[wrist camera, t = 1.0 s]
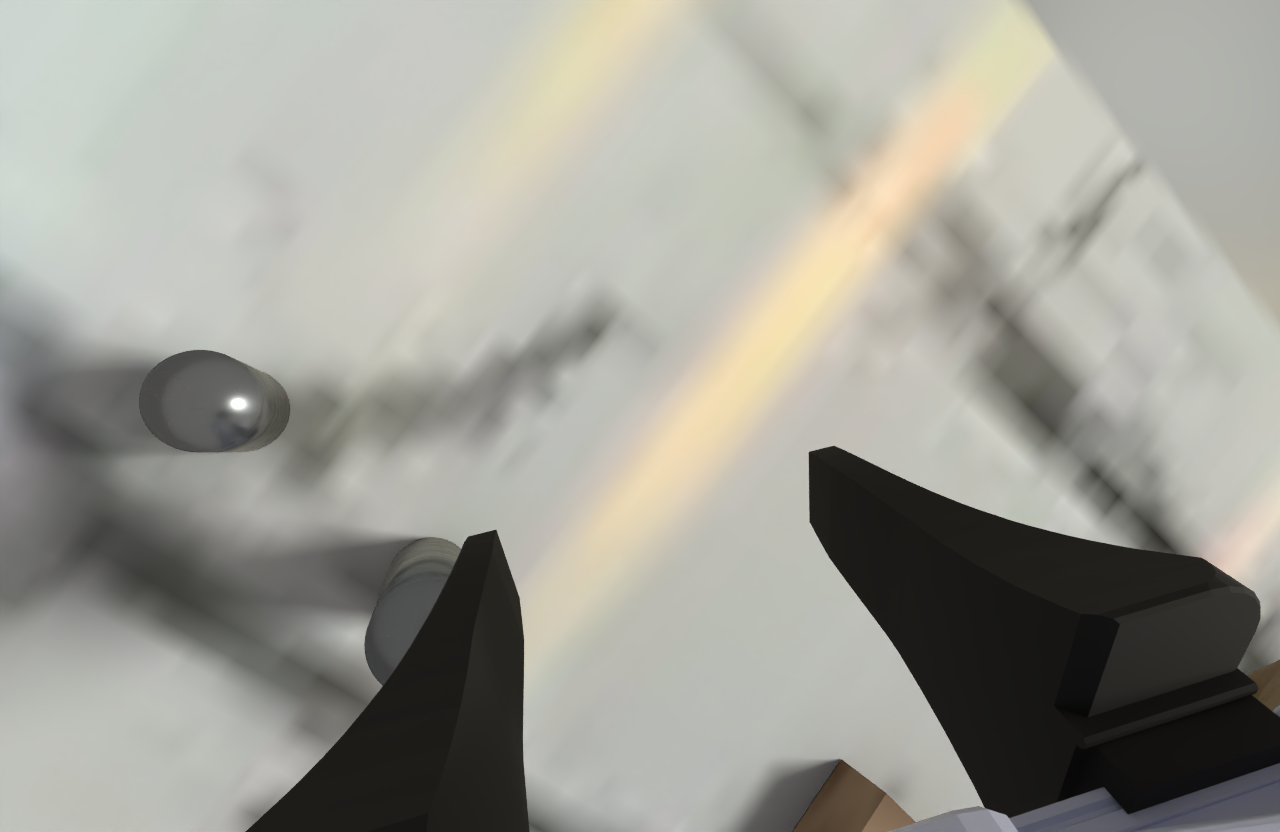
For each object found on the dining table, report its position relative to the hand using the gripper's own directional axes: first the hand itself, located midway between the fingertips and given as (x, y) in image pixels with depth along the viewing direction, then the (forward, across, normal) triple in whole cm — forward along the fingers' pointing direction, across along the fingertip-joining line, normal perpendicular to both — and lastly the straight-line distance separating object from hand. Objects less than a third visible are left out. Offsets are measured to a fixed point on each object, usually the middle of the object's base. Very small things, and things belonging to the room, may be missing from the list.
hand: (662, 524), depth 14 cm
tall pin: (+8, +8, +7) cm, 13 cm away
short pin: (+11, +13, -1) cm, 17 cm away
